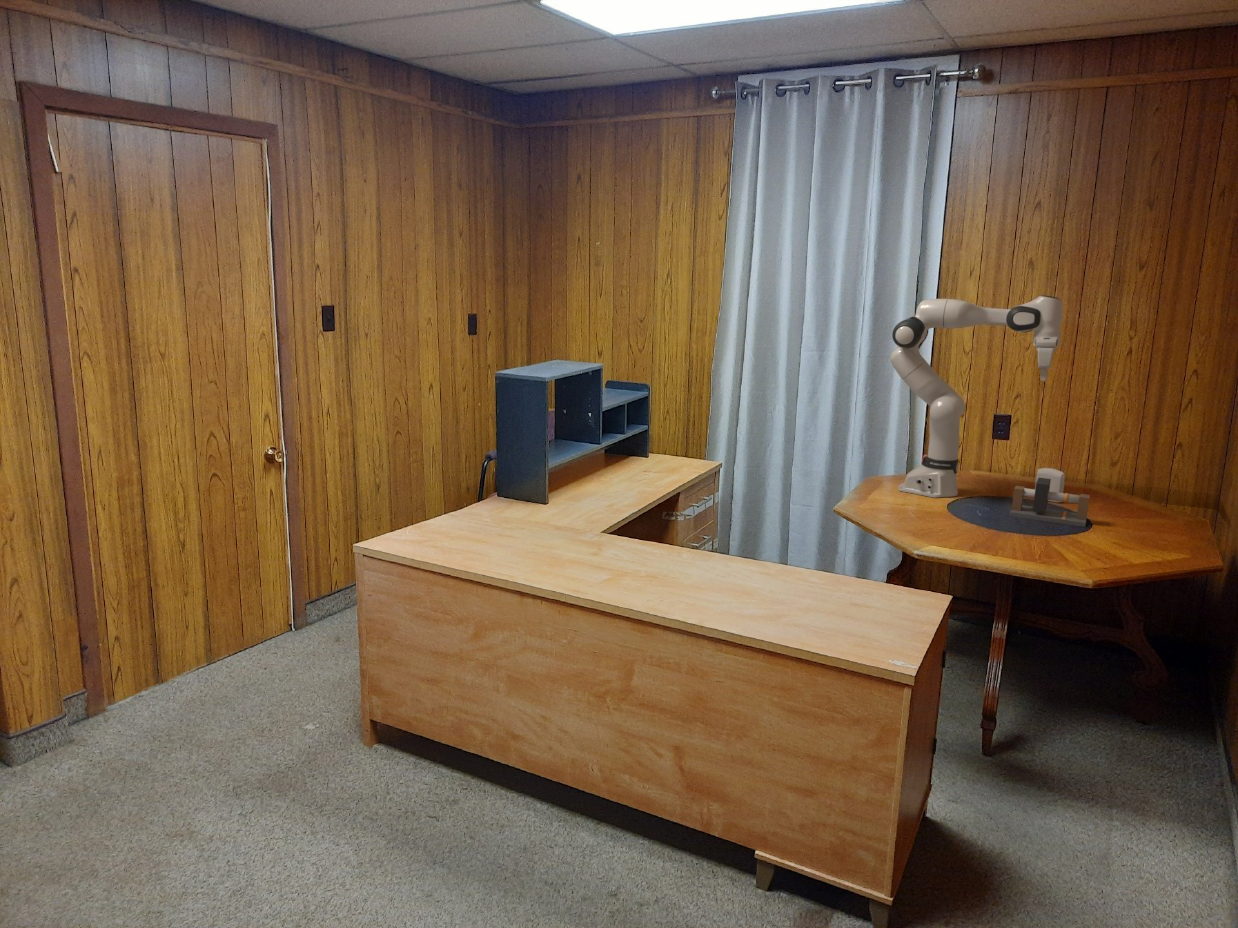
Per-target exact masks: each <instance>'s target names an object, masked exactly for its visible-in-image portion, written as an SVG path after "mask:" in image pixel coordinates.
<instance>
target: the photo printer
mask: <svg viewBox="0 0 1238 928" xmlns="http://www.w3.org/2000/svg"><path fill="white" fill-rule="evenodd" d="M1038 478H1047V479H1051V482H1050V489H1049V491H1050V492H1058V493H1064V490H1065V489H1064V487H1065V480H1066V475H1065V473H1064V472H1063V471H1061V470H1058V469H1055V468H1051V467H1043V468H1038V469H1037V472H1036V477H1035V483H1034V484H1035V485H1034V486H1035V487H1034V489H1036V483H1037V480H1038ZM1048 502H1053V503H1058V504H1059V503H1062V501H1054V500H1048Z"/></svg>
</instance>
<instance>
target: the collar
mask: <svg viewBox="0 0 1238 928" xmlns="http://www.w3.org/2000/svg"><path fill="white" fill-rule="evenodd" d="M1050 482H1051V479H1047V478H1038V480H1037V483H1036V482H1035V483H1036V489H1035V488H1034V489H1035V496H1034V498H1033V506H1032V507H1033V511H1040V512H1045V511H1046V509H1048V503H1049V501H1048V500H1047V497H1048V491H1049V489H1050Z"/></svg>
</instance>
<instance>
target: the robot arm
mask: <svg viewBox="0 0 1238 928" xmlns="http://www.w3.org/2000/svg"><path fill="white" fill-rule="evenodd" d="M1063 313H1064V307H1063V301H1062V300H1061V299H1060V298H1059V297H1057V296H1050V295H1042V294H1041V295H1039V296H1037V297H1036V298H1035V299H1032V300H1031V301H1029V302H1026V303H1022V304H1019V305H1016V306H1014V307H1012V308H996V307H995V308H994V307H985V306H980V305H977V304H974V303H972V302H968V301H965V300H961V299H957V298H956V299H953V298H931V299H925V300H921V302H920V303H919V304H918V305H917V308H916V311H915V315H913V316H910V317H909V318H908V317H907V318H905V319H903V320H901V321H900V322H898V323H897V324H895V326H894V328H893V330H892V335H891V336H892V341H893V342H894V344H895V345H896V346H897V347H896V348H895V349H894V350H893V351H892V353H891V354H890V357H889V359H890V363H891V365H892V366H893V368H894V370H895V371H896V372H897V374H898V375H899V377H900V378H901V379H902V380H903V382H904V383H905V384H906V385H907V386H908V387H909V389H910V390H911V391H912V393H914V395H915V396H917V397H918V398H920V399H921V400H922V401H923V402H924V403H925V404H926V405H928V407H929V421H928V423H929V424H928V425H929V426H928V428H929V440H928V449H927V450H928V451H927V454H924V455H923V456H922V457H921V464H920V465H919V466H917V467H915V468H913V469H912V470H910V471H908V472H907V475H906V476H905V479H904V482H901V483H899V485H898V487H897V489H898V491H900V492H903V493H909V494H914V495H920V496H925V497H929V498H937V499H938V498H949V497H957V496H958V495H959V491H958V490H959V489H958V484H957V474H958V471H959V461H960V460H959V458H958V457H959V451H960V450H959V448H960V440H961V438H960V426H961V425H960V424H961V423H960V422H961V417H962V416H963V414H964V413H965V410H966V402H965V400H964V399H963V397H962V396H961V395H960V394H959V393H958V392H957V391H956V390H955V389H954V388H953V387H952V386H950V385H949V384H948V383H947V381H945V380H944V379H943V378H942V377H941V376H940V375H939V374H938V373H937V372H936V371H935V370H934V368H933V367H932V365H930V364H929V363H928V362H927V360H926V359H925V358H924V357H923V356H922V355H921V353H920V350H919V349H920V348H921V346H922V345H923V344H924V342H925V341H926V339H927V337H928V335H929V330H930V329H932V328H933V329H934V328H938V329H947V330H948V329H963V328H969V327H974V326H980V325H982V326H983V325H986V326H987V325H988V326H1004V327H1009V329H1010V330H1012V331H1014V332H1019V333H1030V332H1033V334H1032V335H1033V337H1032V346H1033V347H1036V348H1035V351H1036V352H1037V367H1038V369H1040V379H1039V380H1040V381H1041V382H1046V380H1047V375H1048V369H1050V368H1051V364H1052V360H1053V355H1054V352H1056V351H1057V350H1056V349H1057V347H1060V346H1061V338H1062V337H1061V336H1062V331H1061V324H1062V322H1063Z"/></svg>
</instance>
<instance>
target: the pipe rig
mask: <svg viewBox="0 0 1238 928" xmlns="http://www.w3.org/2000/svg"><path fill="white" fill-rule="evenodd" d="M1034 496H1035V488H1033V489H1032V488H1026V487H1025V486H1024V485H1023V486H1022V485H1015V486H1014V489H1013V496H1012V502H1011V503H1012V505H1011V510H1010V513H1009V517H1012V516H1013V517H1012V518H1019V519H1027V520H1033V521H1040V522H1047V521H1048V523H1055V524H1062V525H1069V526H1074V525H1075V526H1076V527H1083V528H1086V524H1087V517H1088V511H1089V504H1090V496H1091V495H1090V494H1085V493H1080V494H1079V495H1078V494H1072V493H1068V492H1065V493H1064V492H1063V493H1058V492H1050V491H1048V497H1047V500H1054V501H1062V502H1063V503H1066V504H1067V503H1068V504H1069V503H1072V504H1078V506H1077V512H1071V511H1067V510H1057V509H1052V508H1051V509H1049V508H1046V511H1045V512H1040V511H1033V506H1029V505H1023V503H1024V497H1025V498H1033V499H1034ZM1062 502H1061V503H1062Z"/></svg>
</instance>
